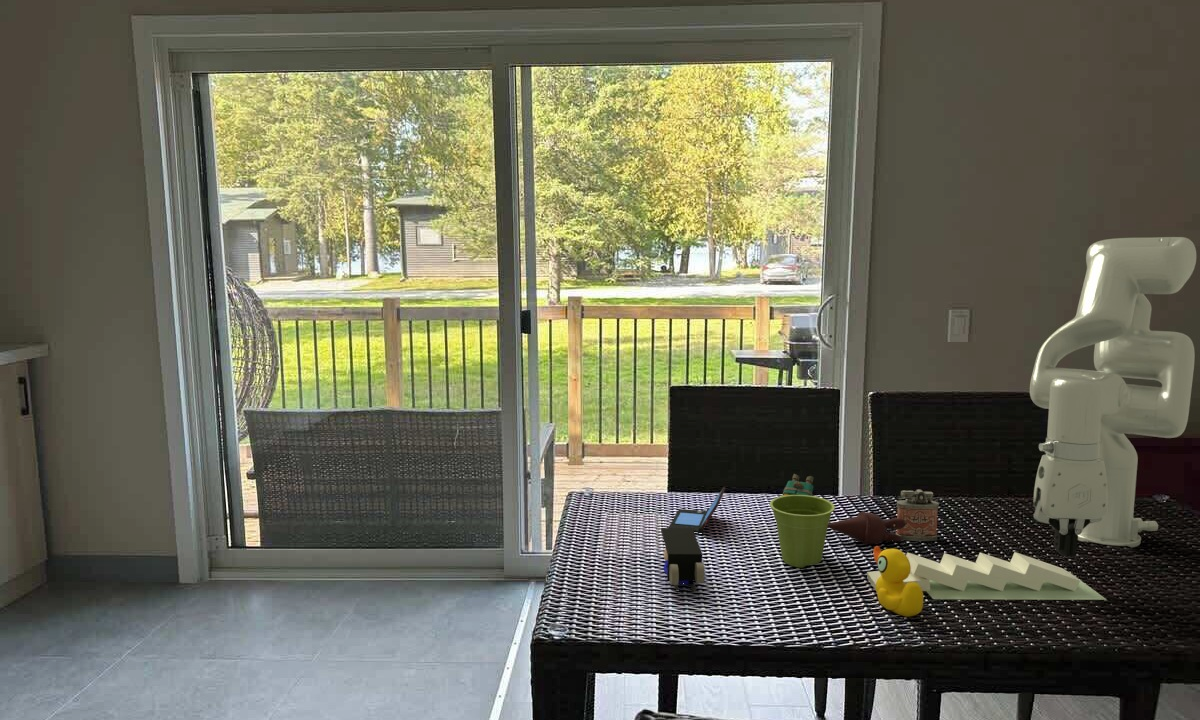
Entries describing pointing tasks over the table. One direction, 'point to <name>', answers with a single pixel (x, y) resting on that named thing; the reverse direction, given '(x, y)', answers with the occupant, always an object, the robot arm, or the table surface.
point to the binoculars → (799, 486)
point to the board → (1013, 592)
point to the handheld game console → (695, 516)
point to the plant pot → (801, 527)
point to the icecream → (869, 528)
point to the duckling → (897, 583)
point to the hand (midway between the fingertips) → (1065, 553)
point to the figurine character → (682, 557)
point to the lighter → (918, 516)
